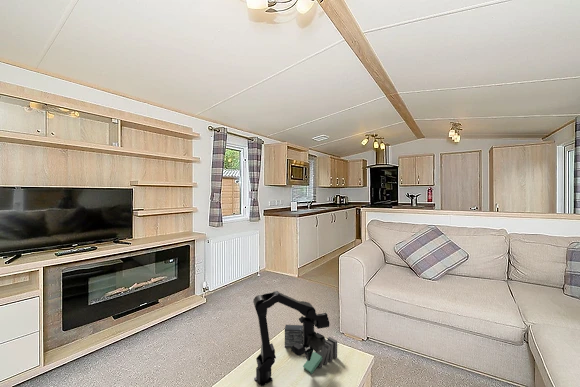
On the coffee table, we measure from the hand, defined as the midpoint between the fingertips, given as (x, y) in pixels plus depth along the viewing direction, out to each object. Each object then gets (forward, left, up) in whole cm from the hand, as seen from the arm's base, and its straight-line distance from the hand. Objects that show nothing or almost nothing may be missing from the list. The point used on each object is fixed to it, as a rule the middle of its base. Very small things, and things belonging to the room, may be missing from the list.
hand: (308, 360), depth 130 cm
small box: (+9, +22, -5) cm, 24 cm away
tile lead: (-1, 0, -4) cm, 4 cm away
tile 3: (+10, 0, -5) cm, 11 cm away
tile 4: (+14, 0, -5) cm, 15 cm away
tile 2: (+6, 0, -5) cm, 8 cm away
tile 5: (+18, 0, -5) cm, 19 cm away
